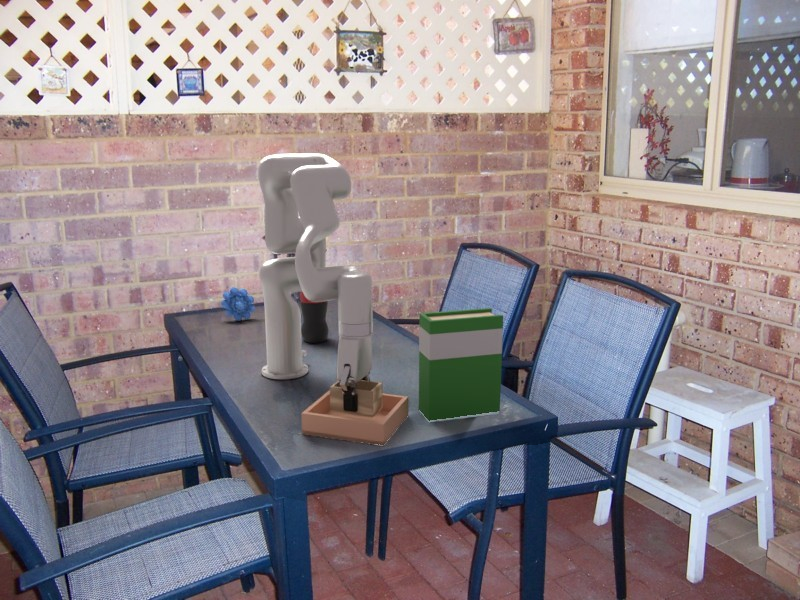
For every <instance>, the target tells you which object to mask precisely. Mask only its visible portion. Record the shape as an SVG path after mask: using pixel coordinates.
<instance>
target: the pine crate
mask: <svg viewBox="0 0 800 600" xmlns="http://www.w3.org/2000/svg"><path fill="white" fill-rule="evenodd" d="M349 380H354V378H349ZM348 384H349V386H351V387H352V388H353V383H348ZM329 390H330V412H331V413H339V414H346V415H354V416H361V417H369V418H373V417H374V416H375V415H376V414H377V413H378V412H379V411H380V410H381V409H382V407H383V394H384V393H383V382H382V381H372V380H370V381H366V380H360V381H358V382H357V389H356V394H358V411H357V412H351V411H345V410H344V409H343V394H342V388H341V386H340V381H339V380H338V379H337V380H336V381H335V382H334V383H333V384H332V385H331V386H329Z"/></svg>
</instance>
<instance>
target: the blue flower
mask: <svg viewBox="0 0 800 600" xmlns="http://www.w3.org/2000/svg"><path fill="white" fill-rule="evenodd" d="M222 298H223V300H221V301H220V306H221V307H222V308H223V309H225V312H224V314H225V315H226V316H227V317H229V318H230V317H233V318H234V321H238V322H240V321H242V320H243V319H244V320H248V319H250V318H251V313H254V312H256V307H255V305H254V302H255V298H254V296H253V295H250V294H249V293H248V291H247V290H246V289H245V288H240V289H239V288H237V287H235V286H232V287H231V288H229V291H224V292H223V293H222Z"/></svg>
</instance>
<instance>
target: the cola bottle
mask: <svg viewBox="0 0 800 600" xmlns="http://www.w3.org/2000/svg"><path fill="white" fill-rule="evenodd" d="M328 303H329V301H324V302H311V301H309V300H308V299H307V298H306V297H305V296H304V294H303V292H300V310H301V314H302V315H301V316H302V319H303V322H302V323H301V338H302V339H303V341H304V342H306V343H309V344H319V343H323V342H324V341H326V340H327V338H328V336H329V327H328V323H327V319H326V317H327V311H328Z"/></svg>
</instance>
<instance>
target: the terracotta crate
mask: <svg viewBox="0 0 800 600" xmlns="http://www.w3.org/2000/svg"><path fill="white" fill-rule="evenodd" d="M300 415H301V435H302V434H305V435H304V436H309V435H311V437H316V436H321V437H320V438H323V437H327V438H326V439H329V438H334V439H333V440H336V439H342V440H341V441H343V440H348V441H347V442H349V441H355V442H354V443H356V442H363V443H370V444H378V445H379V444H380V445H384V444H385V443H386V442H387V440H388V439H389V438H390V437H391V436H392V434H393V433H394V432H395V431H396V429H397V428H398V427H399V426H400V425H401V423H402V422H403V421H404V420H405V419H406V418H407V416H408V417H409V396H408V395H405V396H404V395H398V394H389V393H383V407H382V409H381V410H380V411H379V412H378V413H377V414H376V415H375V416H374V417H373V418H369V417H361V416H354V415H346V414H339V413H331V412H330V389H329V390H328V391H326V392H325V393H324V394H323V395H322V396H320V397H319V398H318V399H316V401H314V402H313V403H312V404H311V405H309V406H308V407H307V408H306V409H305V410H304V411H302V412H301V414H300ZM407 419H408V418H407ZM407 419H406V420H407ZM406 420H405V421H406ZM405 421H404V422H405ZM401 426H402V425H401ZM401 426H400V427H401ZM400 427H399V428H400ZM396 432H397V431H396ZM396 432H395V433H396ZM395 433H394V434H395ZM392 437H393V436H392ZM392 437H391V438H392ZM391 438H390V439H391ZM390 439H389V440H390ZM389 440H388V441H389ZM363 443H362V444H363ZM387 443H388V442H387ZM387 443H386V444H387ZM370 444H369V445H370ZM386 444H385V445H386ZM385 445H384V446H385Z"/></svg>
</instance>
